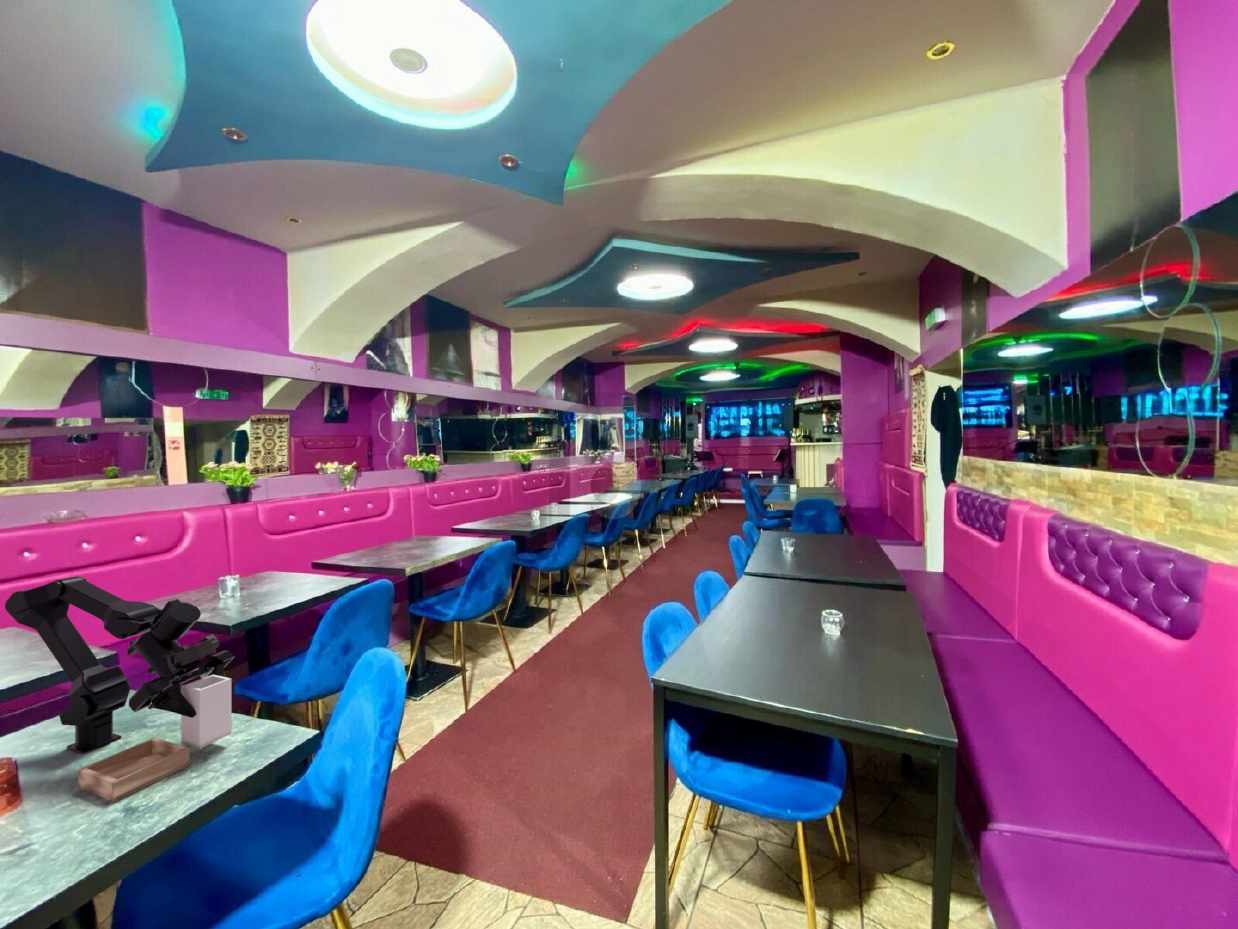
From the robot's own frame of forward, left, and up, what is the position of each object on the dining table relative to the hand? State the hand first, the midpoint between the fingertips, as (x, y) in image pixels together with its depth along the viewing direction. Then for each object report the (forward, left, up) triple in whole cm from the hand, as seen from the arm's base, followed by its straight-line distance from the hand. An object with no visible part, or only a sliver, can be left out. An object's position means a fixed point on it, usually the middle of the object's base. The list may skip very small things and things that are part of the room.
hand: (210, 707), depth 104 cm
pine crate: (-4, -11, -9) cm, 15 cm away
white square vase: (-1, 0, -7) cm, 7 cm away
